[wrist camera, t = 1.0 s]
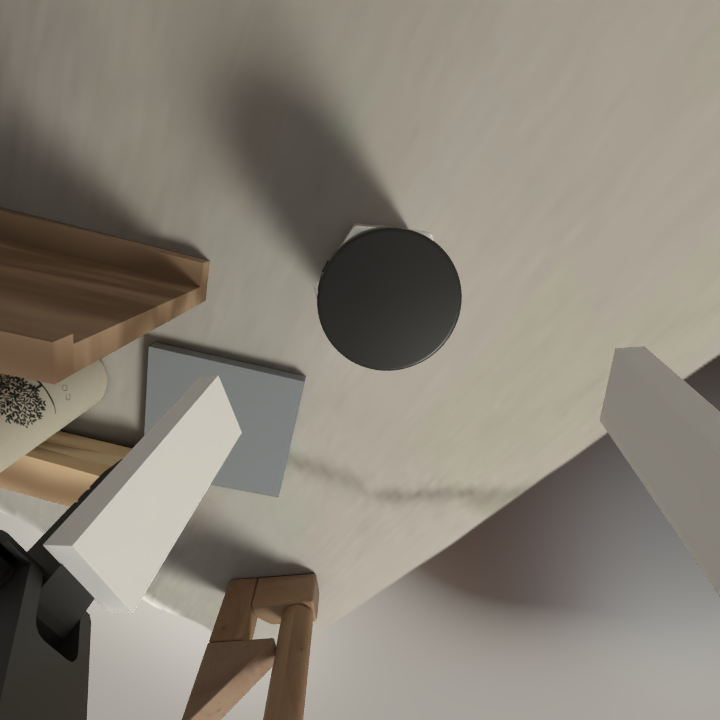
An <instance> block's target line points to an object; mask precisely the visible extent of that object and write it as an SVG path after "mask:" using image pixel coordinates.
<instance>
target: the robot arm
mask: <svg viewBox="0 0 720 720" xmlns="http://www.w3.org/2000/svg"><path fill="white" fill-rule="evenodd" d="M600 421H601V423H602V424H603V426H604V427H605V429H606V430H607V432H608V433H609V434H610V436H611V437H612V439H613V440H614V442H615V443H616V445H617V446H618V448H619V449H620V451H621V452H622V454H623V455H624V456H625V458H626V459H627V461H628V462H629V464H630V465H631V466H632V468H633V470H634V471H635V473H636V474H637V475H638V477H639V479H640V480H641V481H642V483H643V484H644V486H645V487H646V489H647V490H648V492H649V493H650V495H651V496H652V497H653V499H654V500H655V502H656V503H657V505H658V506H659V508H660V509H661V511H662V512H663V514H664V515H665V517H666V518H667V520H668V521H669V522H670V524H671V525H672V527H673V528H674V529H675V531H676V533H677V534H678V536H679V537H680V539H681V540H682V542H683V543H684V545H685V546H686V547H687V549H688V550H689V552H690V553H691V555H692V556H693V558H694V559H695V561H696V562H697V564H698V565H699V567H700V568H701V570H702V571H703V572H704V574H705V575H706V577H707V578H708V580H709V581H710V583H711V584H712V585H713V587H714V589H715V590H716V592H717V593H718V594H719V596H720V412H719V411H718V410H717V409H716V408H715V407H714V406H712V405H711V404H710V403H709V402H708V401H707V400H706V399H704V398H703V397H702V396H701V395H700V394H699V393H697V392H696V391H695V390H694V389H693V388H692V387H691V386H689V385H688V384H687V383H686V382H685V381H684V380H682V379H681V378H680V377H679V376H678V375H677V374H675V373H674V372H673V371H672V370H671V369H670V368H669V367H667V366H666V365H665V364H664V363H663V362H662V361H660V360H659V359H658V358H657V357H656V356H655V355H654V354H652V353H651V352H650V351H649V350H648V349H647V348H645V347H629V348H615V353H614V357H613V362H612V366H611V371H610V376H609V380H608V385H607V389H606V394H605V398H604V403H603V408H602V412H601V417H600ZM241 433H242V432H241V429H240V427H239V424H238V422H237V419H236V417H235V414H234V412H233V410H232V407H231V405H230V402H229V400H228V397H227V395H226V393H225V390H224V388H223V385H222V383H221V380H220V378H219V376H218V375H215V376H200V377H199V378H198V379H197V380H196V381H195V382H194V383H193V384H192V385H191V386H190V387H189V389H188V390H187V391H186V392H185V393H184V394H183V395H182V396H181V397H180V398H179V399H178V400H177V401H176V402H175V404H174V405H173V406H172V407H171V408H170V409H169V410H168V411H167V412H166V413H165V414H164V415H163V416H162V417H161V419H160V420H159V421H158V422H157V423H156V424H155V425H154V426H153V427H152V428H151V429H150V430H149V431H148V433H147V434H146V435H145V436H144V437H143V438H142V439H141V440H140V441H139V442H138V443H137V444H136V445H135V446H134V448H133V449H132V450H131V451H130V452H129V453H128V454H127V455H126V456H125V457H124V458H123V459H121V460H120V461H118V462H117V463H115V464H114V465H113V466H111V467H110V468H108V469H107V470H106V471H104V472H103V473H102V474H101V475H100V476H99V477H98V478H97V480H96V481H95V482H94V483H93V484H92V485H91V486H90V489H89V490H86V491H85V492H84V493H83V494H82V495H81V496H80V497H79V498H78V502H75V503H74V504H73V505H72V506H71V507H70V508H69V509H68V510H67V511H66V512H65V513H64V514H63V515H62V516H61V517H60V518H59V519H58V520H57V521H56V522H55V524H54V525H53V526H52V527H51V528H50V529H49V530H48V531H47V532H46V533H45V534H44V535H43V536H42V537H41V538H40V539H39V540H38V541H37V542H36V544H35V545H34V546H33V547H32V548H31V549H30V550H29V551H28V552H26V551H25V550H24V549H23V548H22V547H21V546H20V545H19V544H18V543H17V542H16V541H15V540H14V539H13V538H12V537H11V536H10V535H9V534H8V533H6V532H4V531H3V530H0V720H86V719H87V699H88V677H89V676H88V675H89V655H90V632H91V620H90V615H89V614H88V613H87V612H86V610H87V608H88V607H89V606H90V604H91V603H92V601H93V600H94V599H95V601H97V603H98V604H99V605H100V606H101V607H102V608H103V609H104V610H105V611H106V612H115V613H128V614H133V612H134V611H135V609H136V607H137V606H138V604H139V602H140V601H141V599H142V597H143V596H144V594H145V592H146V591H147V589H148V587H149V586H150V584H151V582H152V581H153V579H154V577H155V576H156V574H157V572H158V571H159V569H160V567H161V566H162V564H163V562H164V561H165V559H166V557H167V556H168V554H169V553H170V551H171V549H172V548H173V546H174V544H175V543H176V541H177V539H178V538H179V536H180V534H181V533H182V531H183V529H184V528H185V526H186V524H187V523H188V521H189V519H190V518H191V516H192V514H193V513H194V511H195V509H196V508H197V506H198V504H199V503H200V501H201V499H202V498H203V496H204V494H205V493H206V491H207V489H208V488H209V486H210V484H211V483H212V481H213V479H214V478H215V476H216V475H217V473H218V471H219V470H220V468H221V466H222V465H223V463H224V461H225V460H226V458H227V456H228V455H229V453H230V451H231V450H232V448H233V446H234V445H235V443H236V441H237V440H238V438H239V436H240V435H241Z"/></svg>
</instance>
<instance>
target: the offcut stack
mask: <svg viewBox="0 0 720 720" xmlns="http://www.w3.org/2000/svg"><path fill="white" fill-rule="evenodd" d="M131 450H132V448H128V447H123V446H119V445H115V444H111V443H107V442H103V441H99V440H94V439H90V438H86V437H82V436H78V435H74V434H70V433H66V432H61V431H58V432H56V433H55V434H54V435H52V436H51V437H49V438H48V439H47V440H45V441H44V442H42V443H41V444H40V445H38V446H37V447H35V448H34V449H33V450H31V451H30V452H29V453H27V454H26V455H24V456H23V457H22V458H20V459H19V460H17V461H16V462H15V463H13V464H12V465H11V466H9V467H8V468H6V469H5V470H4V471H2V472H1V473H0V488H4V489H7V490H11V491H15V492H18V493H22V494H26V495H29V496H33V497H37V498H40V499H44V500H48V501H51V502H55V503H59V504H62V505H66V506H70V507H71V506H72V505H73V504H74V503H75V502H78V498H79V497H80V496H81V495H82V494H83V493H84V492H85V491H86V490H89V489H90V486H91V485H92V484H93V483H94V482H95V481H96V480H97V478H98V477H99V476H100V475H101V474H102V473H103V472H104V471H106V470H107V469H108V468H110V467H111V466H113V465H114V464H115V463H117V462H118V461H120V460H121V459H123V458H124V457H125V456H126V455H127V454H128V453H129V452H130V451H131Z"/></svg>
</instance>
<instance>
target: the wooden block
mask: <svg viewBox="0 0 720 720" xmlns="http://www.w3.org/2000/svg"><path fill="white" fill-rule="evenodd" d="M318 601H319V589H318V584H317V579H316V575H315V574H304V575H291V576H278V577H266V578H259V579H257V578H248V579H235V580H230V582H229V585H228V588H227V591H226V593H225V596H224V599H223V602H222V605H221V608H220V611H219V614H218V617H217V620H216V623H215V626H214V629H213V632H212V635H211V637H210V643H208V645H207V648H206V651H205V654H204V657H203V660H202V663H201V666H200V668H199V672H198V674H197V677H196V680H195V683H194V686H193V689H192V692H191V695H190V698H189V701H188V704H187V706H186V709H185V713H184V715H183V718H182V720H221V719H222V718H223V717H224V716H225V715H226V713H228V712H229V710H231V709H232V708H233V706H234V705H235V704H236V703H237V702H238V701H239V700H240V699H241V698H242V697H243V696H244V695H245V694H246V693H247V692H248V691H249V690H250V689H251V688H252V687H253V686H254V685H255V684H256V683H257V682H258V681H259V680H260V679H261V678H262V677H263V676H264V675H265V674H266V673H267V671H269V670H270V669H271V667H272V666H273V668H272V674H271V679H270V685H269V690H268V696H267V701H266V707H265V713H264V718H263V720H303V715H304V705H305V695H306V685H307V675H308V665H309V655H310V645H311V636H312V626H313V621H316V619H317V612H318ZM257 617H258V618H260V619H262V620H264V621H266V622H268V623H270V624H280V629H279V635H278V640H277V646H276V645H275V641H274V639H273V638H269V639H256V640H252V638H253V634H254V630H255V626H256V622H257Z"/></svg>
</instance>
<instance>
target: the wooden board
mask: <svg viewBox="0 0 720 720" xmlns="http://www.w3.org/2000/svg"><path fill="white" fill-rule="evenodd" d="M209 262H210V261H208V260H204V259H200V258H196V257H192V256H188V255H184V254H181V253H177V252H173V251H169V250H165V249H161V248H157V247H153V246H149V245H145V244H141V243H137V242H134V241H130V240H126V239H122V238H118V237H114V236H110V235H106V234H102V233H98V232H94V231H90V230H87V229H83V228H79V227H75V226H71V225H67V224H63V223H59V222H55V221H51V220H47V219H43V218H40V217H36V216H32V215H28V214H24V213H20V212H16V211H12V210H8V209H4V208H0V373H2V374H7V375H11V376H16V377H21V378H26V379H31V380H35V381H40V382H45V383H50V384H56V383H58V382H60V381H62V380H63V379H65V378H67V377H69V376H71V375H72V374H74V373H76V372H78V371H80V370H81V369H83V368H85V367H87V366H89V365H90V364H92V363H94V362H96V361H98V360H99V359H101V358H103V357H105V356H107V355H108V354H110V353H112V352H114V351H116V350H117V349H119V348H121V347H123V346H125V345H126V344H128V343H130V342H132V341H134V340H135V339H137V338H139V337H141V336H143V335H144V334H146V333H148V332H150V331H152V330H153V329H155V328H157V327H159V326H161V325H162V324H164V323H166V322H168V321H170V320H171V319H173V318H175V317H177V316H179V315H180V314H182V313H184V312H186V311H188V310H189V309H191V308H193V307H195V306H197V305H198V304H200V303H202V302H204V301H205V300H206V290H207V281H208V271H209Z"/></svg>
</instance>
